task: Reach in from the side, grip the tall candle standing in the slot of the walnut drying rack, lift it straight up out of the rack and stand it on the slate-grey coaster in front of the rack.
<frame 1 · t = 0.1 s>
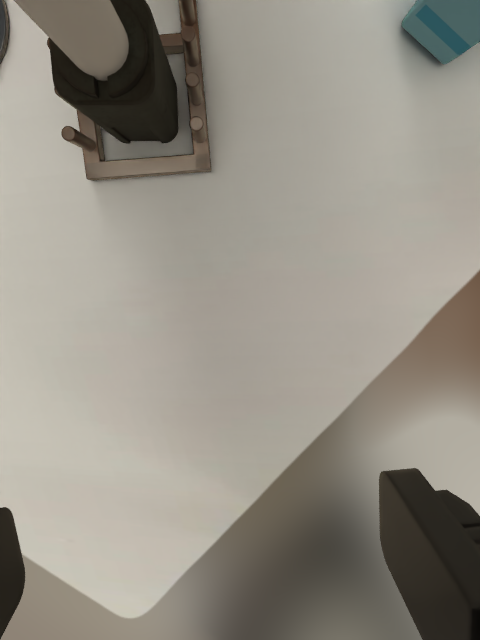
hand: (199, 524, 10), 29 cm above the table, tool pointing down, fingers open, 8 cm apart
drying rack: (140, 79, 34), on the table
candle: (144, 108, 35), resting in drying rack
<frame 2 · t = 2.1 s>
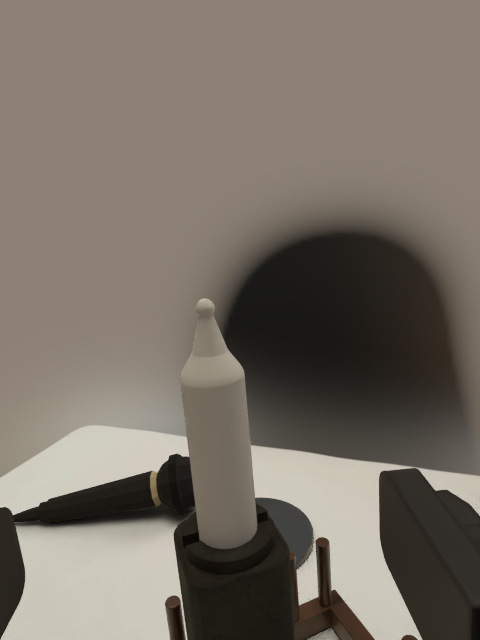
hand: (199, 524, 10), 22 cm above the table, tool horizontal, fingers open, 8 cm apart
microphone: (117, 511, 47), on the table
slate coaster: (257, 537, 41), on the table
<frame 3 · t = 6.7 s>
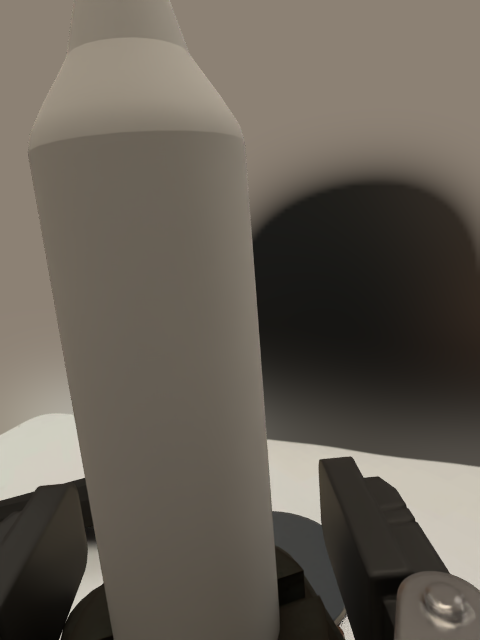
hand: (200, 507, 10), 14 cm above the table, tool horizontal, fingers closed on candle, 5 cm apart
microphone: (62, 529, 32), on the table
slate coaster: (265, 574, 26), on the table
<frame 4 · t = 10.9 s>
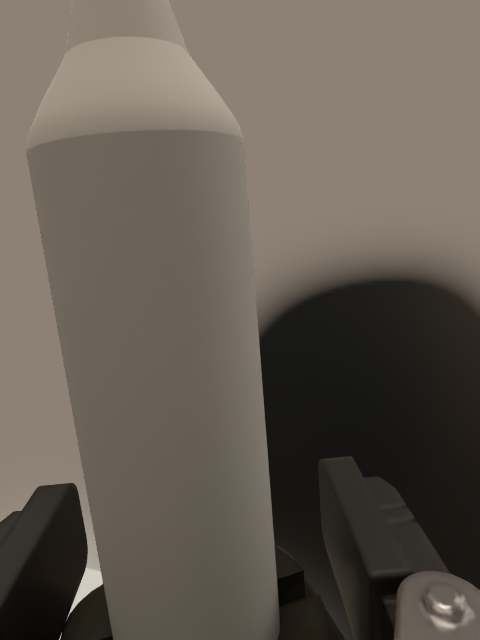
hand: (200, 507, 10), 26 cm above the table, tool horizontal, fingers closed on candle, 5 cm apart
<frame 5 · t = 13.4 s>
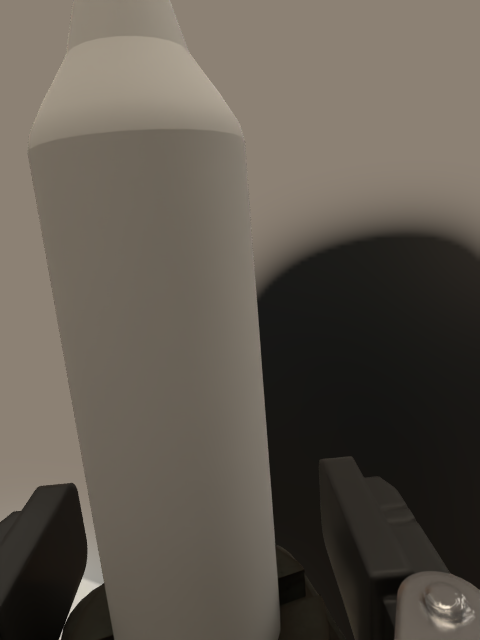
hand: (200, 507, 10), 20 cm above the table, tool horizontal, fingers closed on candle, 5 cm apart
when the fingers open (15 cm above the table, at t = 15.4 s): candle stays where it is, resting on slate coaster.
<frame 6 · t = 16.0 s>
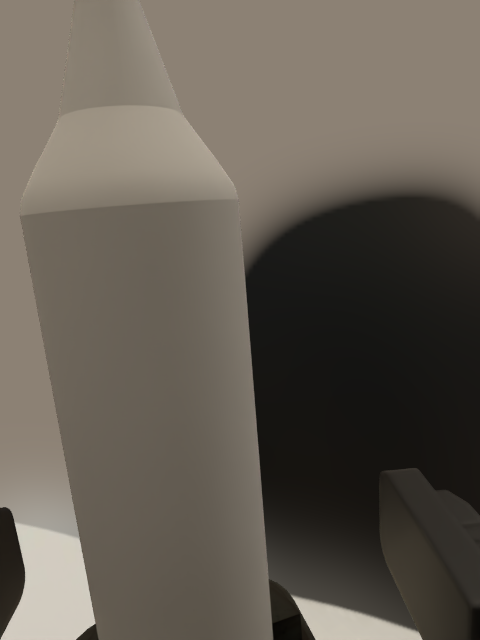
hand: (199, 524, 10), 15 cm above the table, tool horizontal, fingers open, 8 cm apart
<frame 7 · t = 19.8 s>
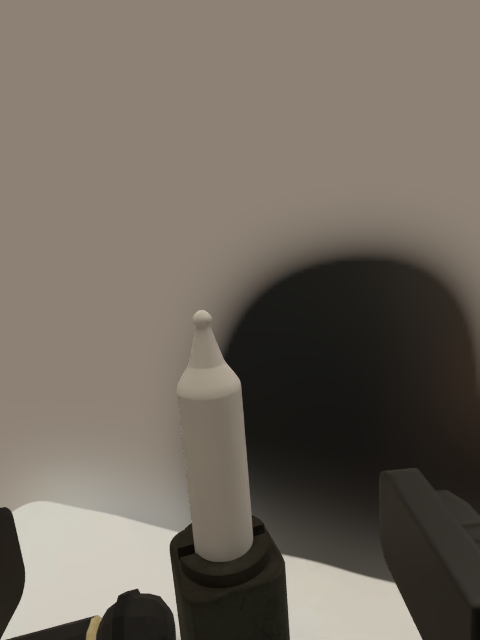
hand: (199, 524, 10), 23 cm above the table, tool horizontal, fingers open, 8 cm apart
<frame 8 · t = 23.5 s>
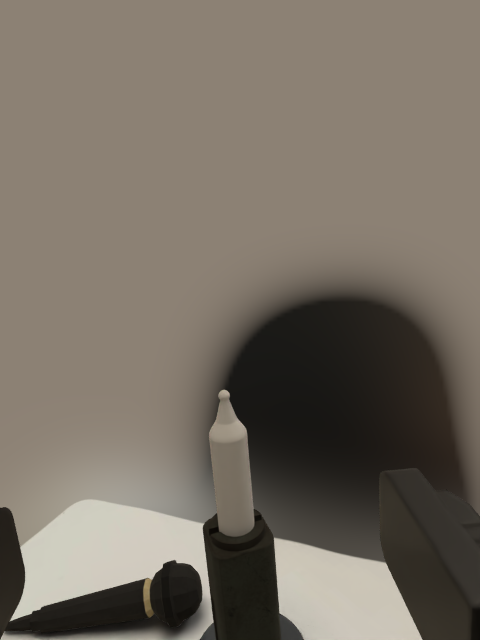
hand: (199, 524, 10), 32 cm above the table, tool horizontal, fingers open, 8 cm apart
microphone: (110, 617, 46), on the table
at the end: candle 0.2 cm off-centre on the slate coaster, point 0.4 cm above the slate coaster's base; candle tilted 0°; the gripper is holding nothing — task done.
